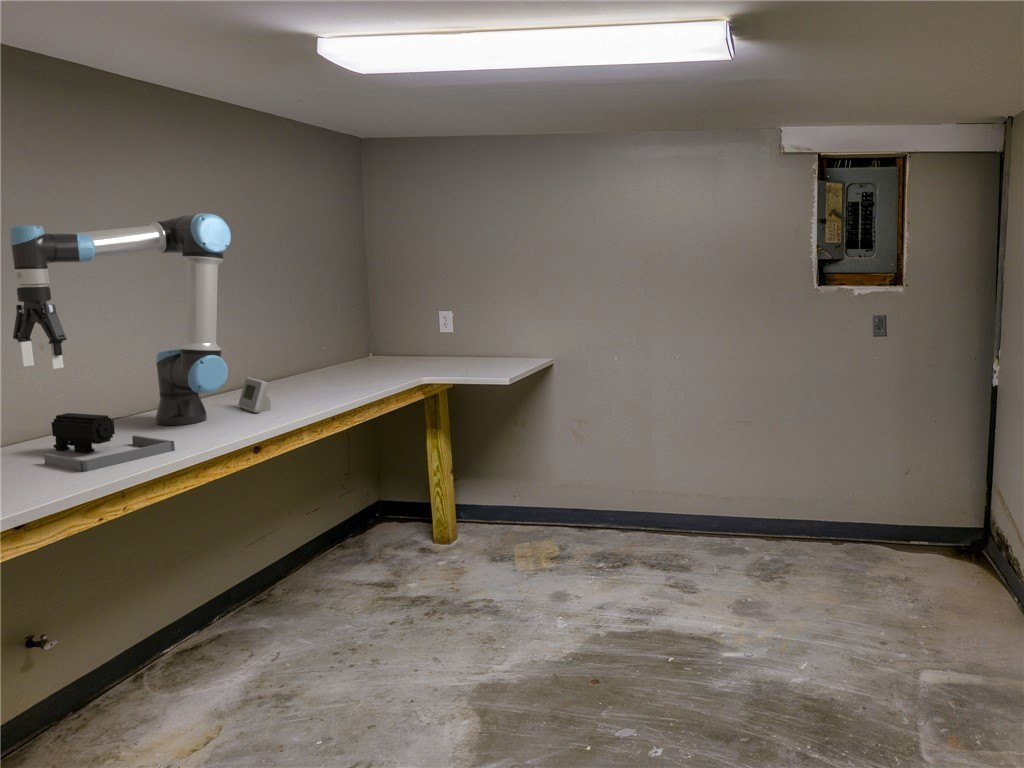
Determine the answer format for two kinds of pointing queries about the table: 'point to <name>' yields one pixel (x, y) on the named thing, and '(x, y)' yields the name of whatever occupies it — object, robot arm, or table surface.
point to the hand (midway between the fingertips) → (42, 367)
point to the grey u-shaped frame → (114, 455)
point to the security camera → (81, 431)
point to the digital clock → (254, 396)
